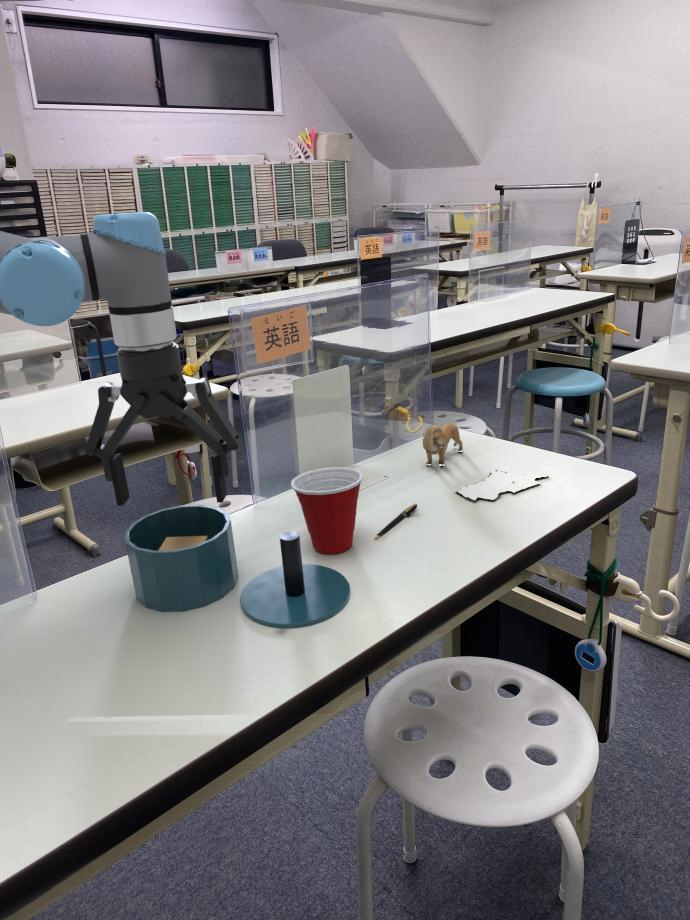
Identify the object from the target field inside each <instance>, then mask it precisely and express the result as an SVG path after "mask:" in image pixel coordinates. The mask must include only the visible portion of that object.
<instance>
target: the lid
mask: <svg viewBox="0 0 690 920" xmlns="http://www.w3.org/2000/svg"><path fill="white" fill-rule="evenodd" d="M279 546H280V553H281V555H280V556H281V563H282V566H278V567H275V568H272V569H269V570H267V571H264V572H262V573H260V574H258V575H256V576H255V577H254V578H252V579H251V580H250V581H248V583H247V584H246V585H245V586H244V587H243V589H242V591H241V593H240V606H241V609H242V612H243V613H244V614H245V615H246V616H247V617H248V618H249V619H250V620H252V621H254V622H255V623H258V624H260V625H264V626H266V627H272V628H280V629H293V628H303V627H308V626H311V625H312V626H313V625H316V624H320V623H321V622H324V621H326V620H329V619H330V618H333V616H335V615H336V614H338V613H339V612H340V611H342V610H343V608H344V607H346V605H347V603H348V602H349V599H350V598H351V597H350V596H351V586H350V583H349V580H348V579H347V578H346V577H345V575H343V574H342V573H341V572H339V571H337V570H336V569H334V568H331V567H328V566H324V565H320V564H312V563H303V558H302V548H301V537H300V533H299V532H297V531H292V530H291V531H284V532H283V533H281V534H280V535H279Z"/></svg>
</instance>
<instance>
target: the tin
mask: <svg viewBox="0 0 690 920" xmlns="http://www.w3.org/2000/svg"><path fill="white" fill-rule="evenodd" d="M123 534H124V543H125V549H126V553H127V556H128V557H127V558H128V562H129V568H130V573H131V579H132V582H133V587H134V592H135V598H136V600H137V602H139V603H140V604H141V605H142V606H143V607H144V608H146V609H148V610H149V609H150V610H153V611H157V612H161V613H183V612H187V611H192V610H197V609H201V608H204V607H207V606H209V605H211V604H214V603H215V602H218V601H219V600H222V599H224V598H225V597H226V596H227V595H228V594H229V593H230V592H231V591H232V590H234V589H235V587H236V585H237V583H238V579H239V570H238V564H237V563H238V562H237V556H236V549H235V548H236V547H235V541H234V533H233V526H232V520H231V518H230V516H229V514H228V513H227V511H225V510H223V509H221V508H219V507H217V506H210V505H205V504H187V505H186V504H185V505H184V504H182V505H178V506H171V507H167V508H162V509H159V510H156V511H154V512H152V513H148V514H146V515H144V516H141V517H140V518H139V519H138V520H136V521H134V522H133V523H131V524H130V526H129V527H128V528H127V530H126V531H125V532H124V533H123ZM185 536H208V540H207V541H205V542H202V543H200V544H198V545H195V546H192V547H187V548H182V549H177V550H166V551H158V550H159V549H160V547H161V545H162V544H163V542H164V541H165V539H166V537H185Z"/></svg>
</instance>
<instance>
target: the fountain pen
mask: <svg viewBox="0 0 690 920" xmlns="http://www.w3.org/2000/svg"><path fill="white" fill-rule="evenodd" d="M417 508H418V504H417V502H415V503H413V504H412V505H409V507H407V508H405V509H404V510H403V511H401V512H400V513H399V514H398V515H397V516H396V517H395V518H394V519H392V520H391V521H390V522H389V523H388V524H386V526H384V527H383V528H382V529H381V530H380V531H379V532H378V533H377V534H376V536H375V537H373V540H377V539H379V538H382V537H383V536H384V535H385V534H387V533H388V532H389V531H391V530H392V529H393V528H395V527H396V526H397V525H399V523H401V522H402V521H403V520H405V519H408V518H409V517H410V516H411V515H412V514H413V513H414V512H415V511H416V509H417ZM411 513H412V514H411ZM410 514H411V515H410ZM409 515H410V516H409Z"/></svg>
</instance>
